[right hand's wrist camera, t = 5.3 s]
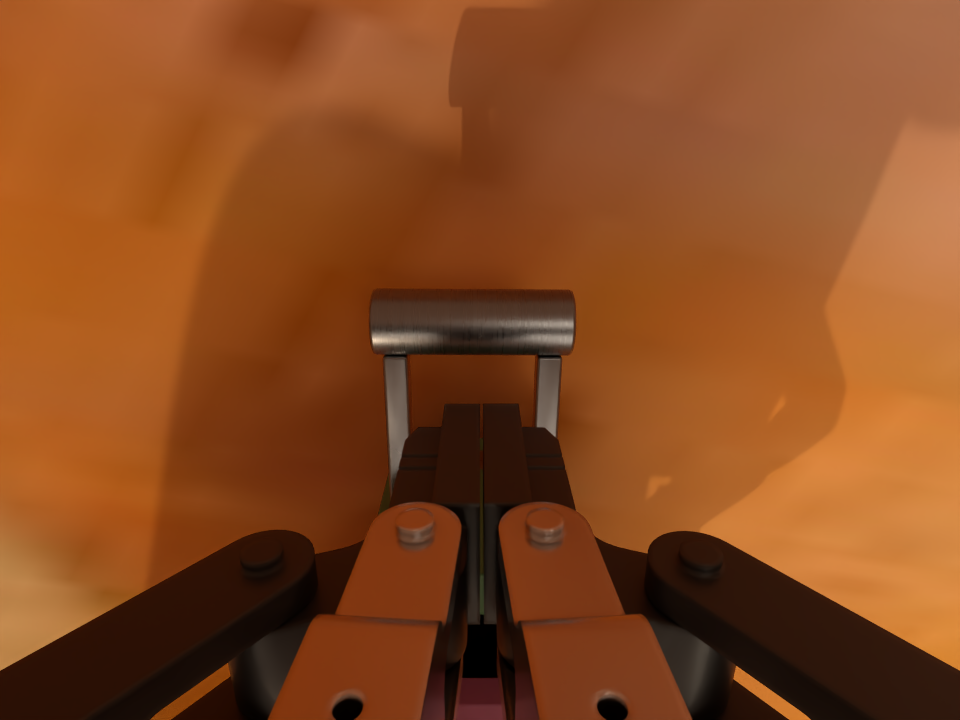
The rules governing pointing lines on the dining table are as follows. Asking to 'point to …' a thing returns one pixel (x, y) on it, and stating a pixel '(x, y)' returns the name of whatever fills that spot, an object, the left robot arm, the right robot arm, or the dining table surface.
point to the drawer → (469, 331)
